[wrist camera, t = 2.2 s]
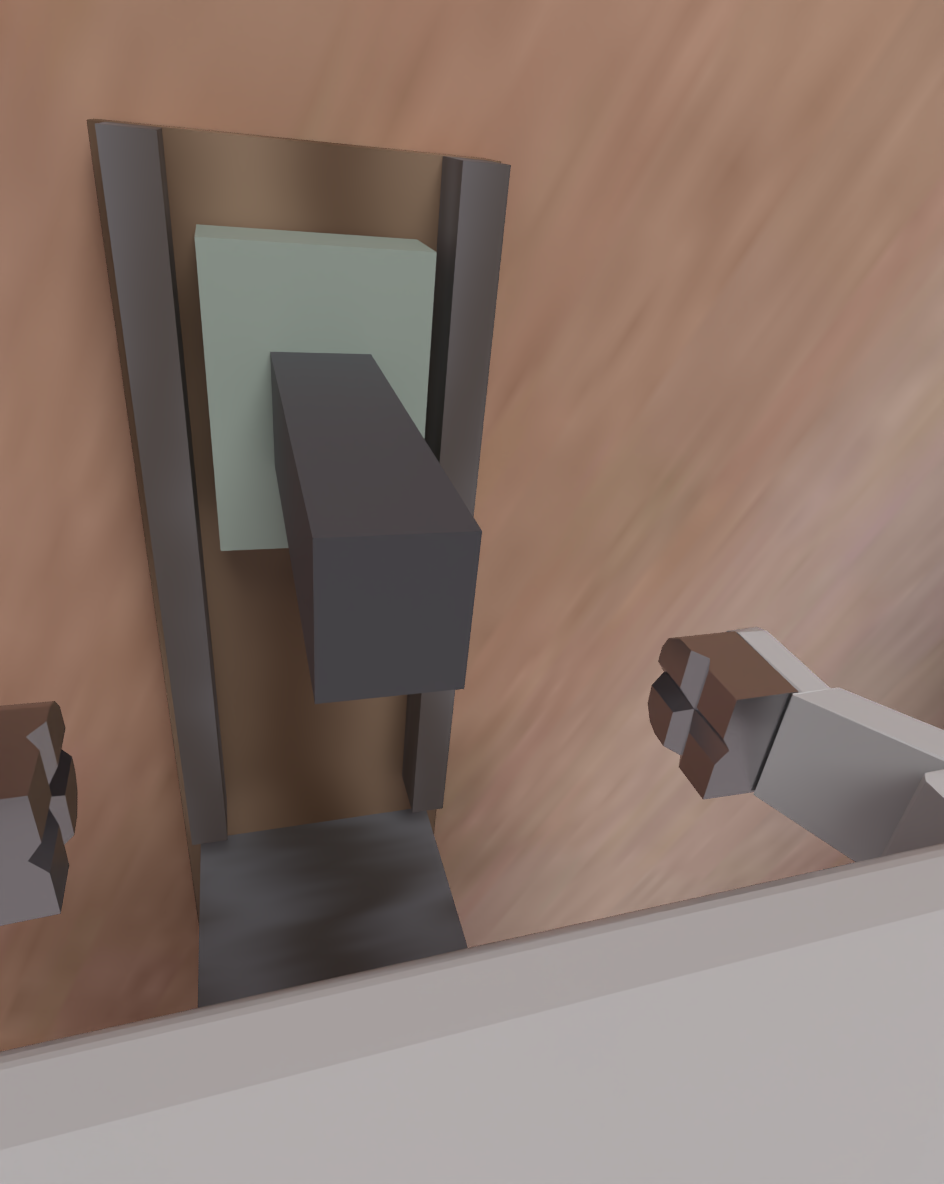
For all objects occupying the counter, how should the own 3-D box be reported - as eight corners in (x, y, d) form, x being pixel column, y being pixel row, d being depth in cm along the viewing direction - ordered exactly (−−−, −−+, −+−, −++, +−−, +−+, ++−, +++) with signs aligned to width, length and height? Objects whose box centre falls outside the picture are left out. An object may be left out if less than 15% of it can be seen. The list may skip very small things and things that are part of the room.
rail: (485, 158, 22) (709, 203, 12) (417, 897, 38) (488, 1171, 28) (94, 118, 19) (-35, 135, 9) (204, 935, 35) (201, 1254, 25)
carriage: (417, 239, 21) (606, 365, 11) (402, 510, 25) (529, 783, 15) (196, 224, 19) (177, 356, 9) (220, 516, 23) (225, 826, 13)
